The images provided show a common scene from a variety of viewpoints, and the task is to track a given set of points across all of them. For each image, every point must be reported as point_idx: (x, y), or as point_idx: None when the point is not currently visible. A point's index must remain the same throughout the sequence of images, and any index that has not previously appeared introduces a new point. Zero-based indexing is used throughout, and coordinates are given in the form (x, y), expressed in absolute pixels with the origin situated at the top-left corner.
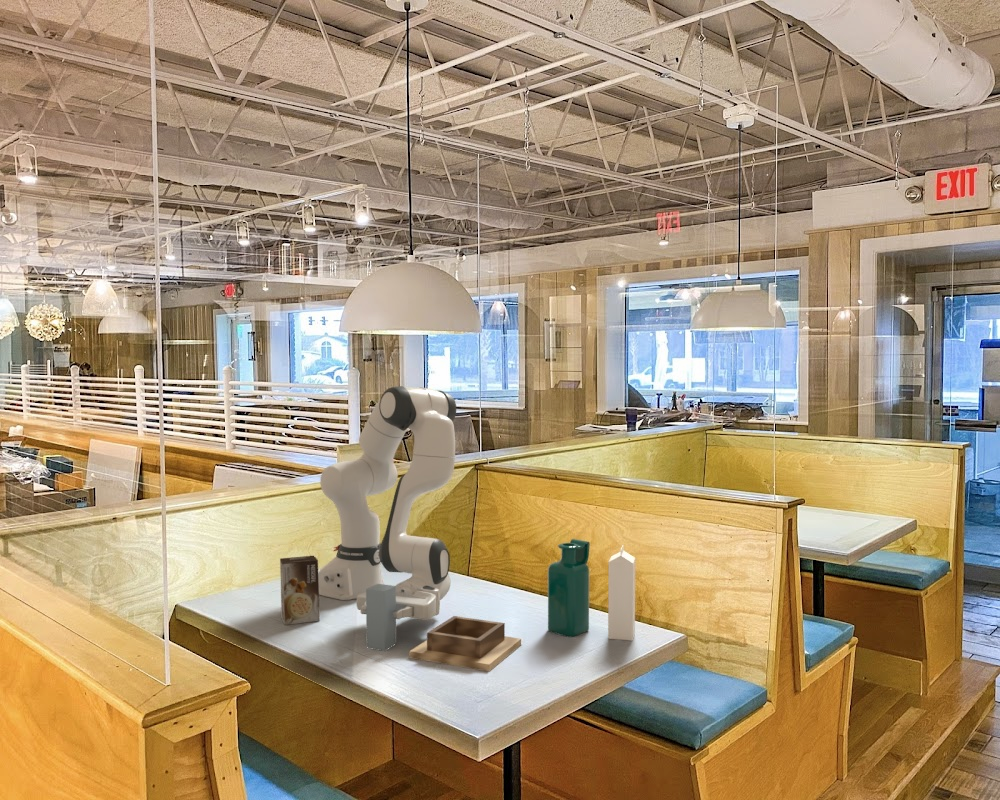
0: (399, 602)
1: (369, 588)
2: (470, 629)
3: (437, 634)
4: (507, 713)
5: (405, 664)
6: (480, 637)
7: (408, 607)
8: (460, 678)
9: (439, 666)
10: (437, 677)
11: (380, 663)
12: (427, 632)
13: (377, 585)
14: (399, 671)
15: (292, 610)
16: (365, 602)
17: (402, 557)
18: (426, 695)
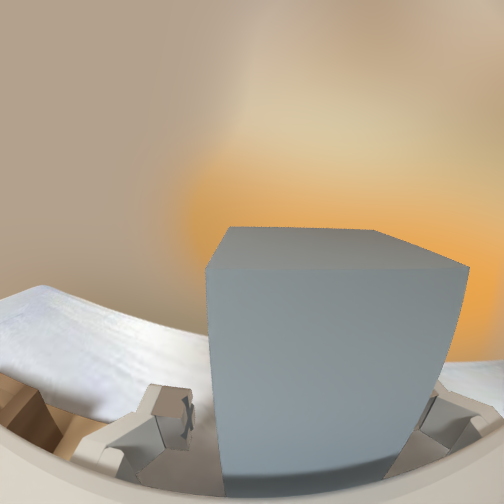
0: (206, 497)
1: (370, 232)
2: None
3: (10, 378)
4: (5, 302)
5: (125, 403)
6: None
7: (96, 449)
8: (19, 356)
9: (44, 397)
10: (54, 358)
11: (196, 398)
12: (36, 390)
13: (407, 251)
14: (132, 373)
15: None
16: (480, 404)
17: None
18: (78, 320)
